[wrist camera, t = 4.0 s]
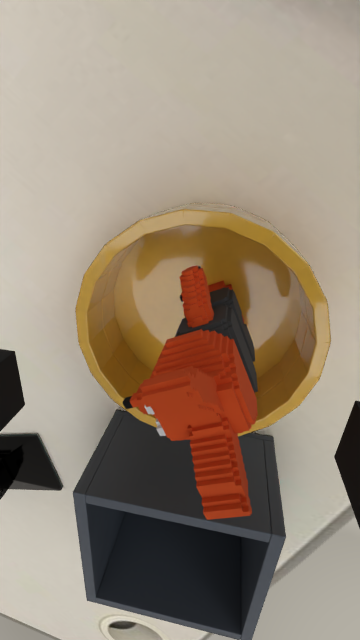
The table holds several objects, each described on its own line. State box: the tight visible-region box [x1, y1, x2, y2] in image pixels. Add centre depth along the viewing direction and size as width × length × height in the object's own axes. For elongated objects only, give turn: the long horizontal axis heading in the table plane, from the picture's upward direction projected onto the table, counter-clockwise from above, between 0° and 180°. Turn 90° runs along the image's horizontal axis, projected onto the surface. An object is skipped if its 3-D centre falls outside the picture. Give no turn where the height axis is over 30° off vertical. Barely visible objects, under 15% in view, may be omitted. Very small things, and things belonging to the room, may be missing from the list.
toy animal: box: [122, 265, 258, 520], centre depth 15 cm, size 8×6×12 cm
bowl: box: [76, 203, 331, 436], centre depth 19 cm, size 13×13×4 cm
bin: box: [73, 410, 286, 640], centre depth 24 cm, size 13×13×8 cm
